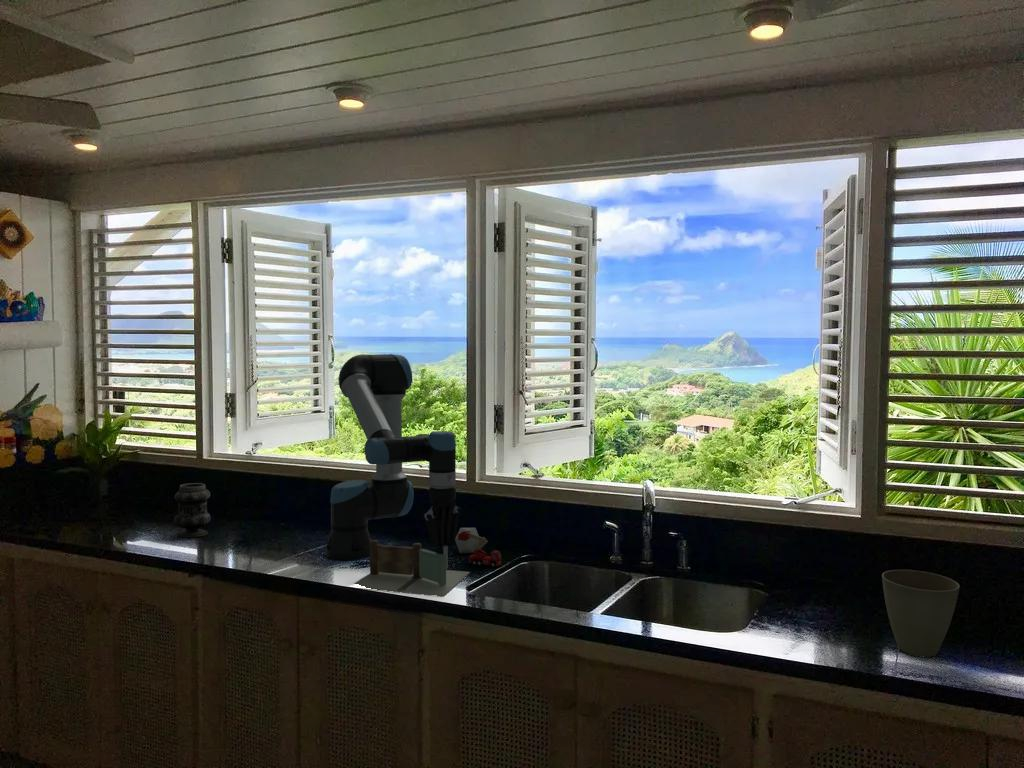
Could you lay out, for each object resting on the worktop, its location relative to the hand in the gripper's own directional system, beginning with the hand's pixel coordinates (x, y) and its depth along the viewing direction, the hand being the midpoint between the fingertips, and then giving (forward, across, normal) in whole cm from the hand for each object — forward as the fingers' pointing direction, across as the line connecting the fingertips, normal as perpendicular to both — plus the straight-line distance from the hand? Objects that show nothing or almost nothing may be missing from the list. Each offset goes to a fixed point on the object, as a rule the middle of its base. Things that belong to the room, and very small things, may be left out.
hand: (443, 568), depth 209 cm
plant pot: (+4, +43, -111) cm, 119 cm away
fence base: (+4, -7, +14) cm, 16 cm away
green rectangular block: (+3, -3, +1) cm, 5 cm away
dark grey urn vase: (+4, -29, +105) cm, 109 cm away
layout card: (+4, -6, +8) cm, 10 cm away
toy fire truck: (+5, +20, +6) cm, 21 cm away
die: (+5, +26, +19) cm, 33 cm away
